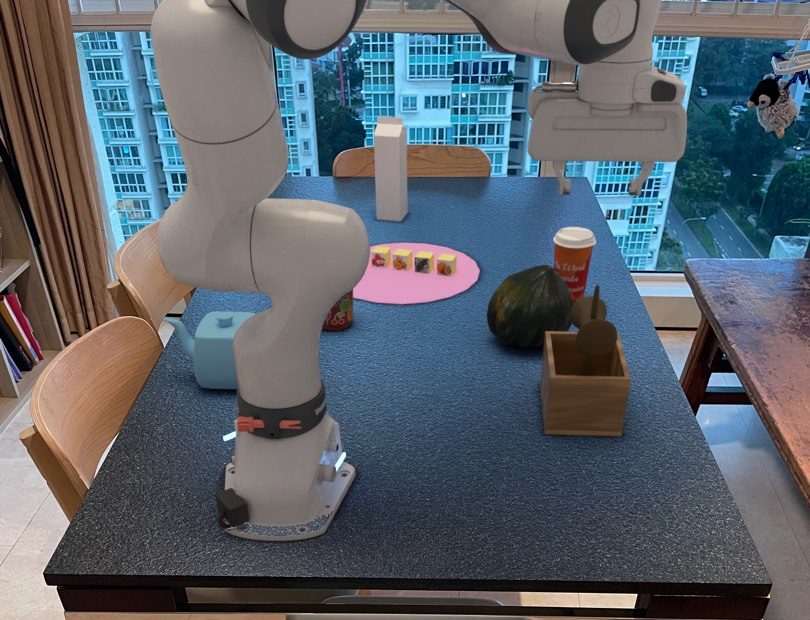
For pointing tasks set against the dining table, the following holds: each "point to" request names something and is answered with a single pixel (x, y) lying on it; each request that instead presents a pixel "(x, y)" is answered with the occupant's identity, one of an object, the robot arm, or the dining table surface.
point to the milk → (390, 168)
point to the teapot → (213, 348)
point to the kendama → (592, 332)
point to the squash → (530, 307)
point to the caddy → (582, 389)
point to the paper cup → (573, 258)
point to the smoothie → (340, 313)
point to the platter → (415, 274)
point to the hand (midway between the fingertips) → (599, 194)
